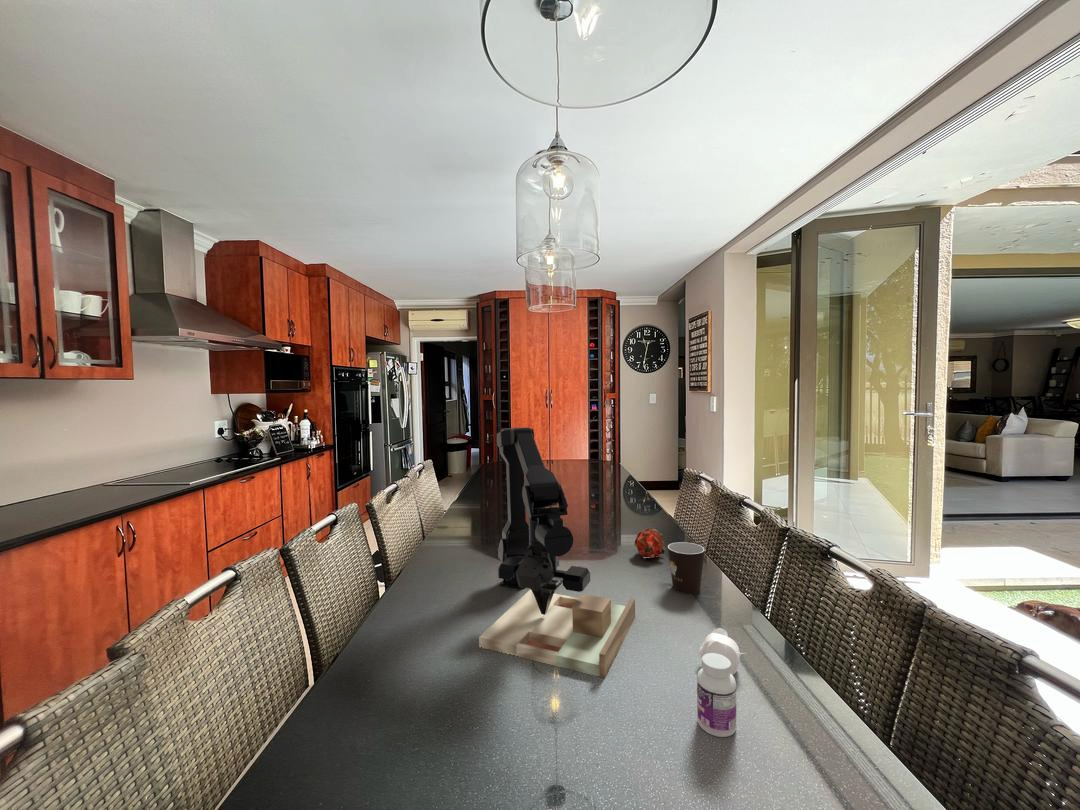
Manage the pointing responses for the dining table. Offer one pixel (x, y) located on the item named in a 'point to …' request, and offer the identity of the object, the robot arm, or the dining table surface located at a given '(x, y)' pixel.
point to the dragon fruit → (650, 543)
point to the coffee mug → (686, 566)
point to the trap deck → (558, 635)
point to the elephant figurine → (722, 647)
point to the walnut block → (591, 615)
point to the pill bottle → (716, 696)
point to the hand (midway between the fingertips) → (544, 613)
